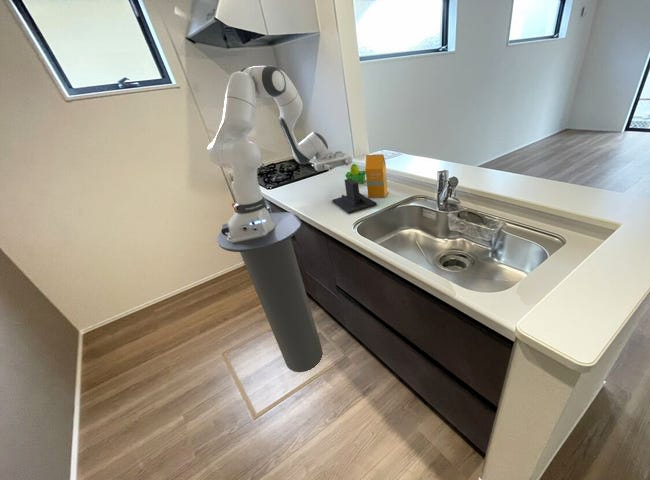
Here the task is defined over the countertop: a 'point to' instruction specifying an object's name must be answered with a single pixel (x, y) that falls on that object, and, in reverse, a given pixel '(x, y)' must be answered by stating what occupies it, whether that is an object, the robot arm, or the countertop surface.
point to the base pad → (351, 205)
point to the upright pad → (352, 190)
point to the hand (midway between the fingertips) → (339, 165)
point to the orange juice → (376, 176)
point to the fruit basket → (356, 174)
